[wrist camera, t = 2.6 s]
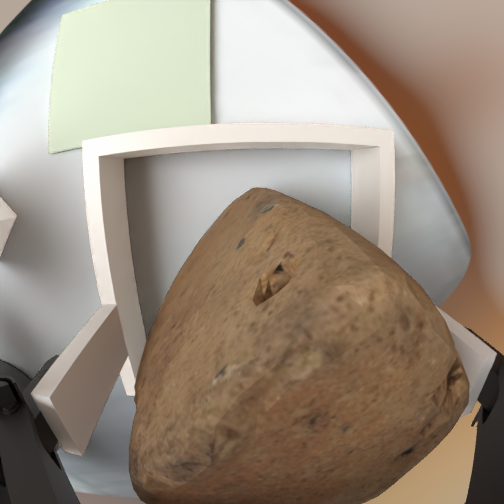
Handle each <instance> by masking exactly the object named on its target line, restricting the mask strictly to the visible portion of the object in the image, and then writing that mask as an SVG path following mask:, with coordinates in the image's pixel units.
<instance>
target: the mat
mask: <svg viewBox="0 0 504 504" xmlns="http://www.w3.org/2000/svg"><path fill="white" fill-rule="evenodd" d="M210 7H211V0H108V1H104V2H101V3H97V4H94V5H91V6H87V7H84V8H81V9H78V10H75V11H72V12H70V13H67V14H64V15H62V18H61V23H60V27H59V32H58V38H57V43H56V49H55V56H54V63H53V71H52V79H51V90H50V103H49V125H48V154H54V153H58V152H63V151H67V150H72V149H77V148H82V141H84V140H89V139H94V138H99V137H105V136H111V135H117V134H123V133H130V132H137V131H144V130H152V129H161V128H170V127H180V126H192V125H206V124H211V94H210Z"/></svg>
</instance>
